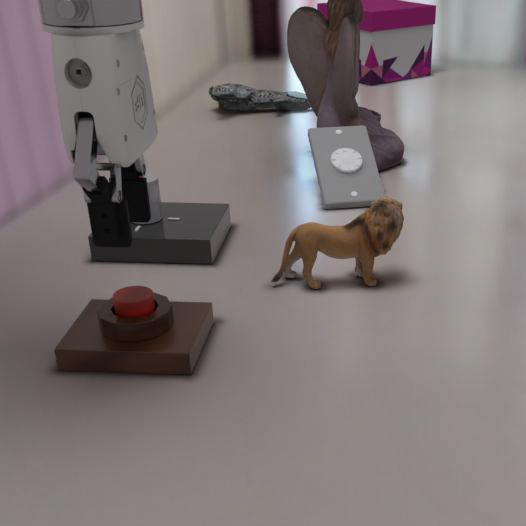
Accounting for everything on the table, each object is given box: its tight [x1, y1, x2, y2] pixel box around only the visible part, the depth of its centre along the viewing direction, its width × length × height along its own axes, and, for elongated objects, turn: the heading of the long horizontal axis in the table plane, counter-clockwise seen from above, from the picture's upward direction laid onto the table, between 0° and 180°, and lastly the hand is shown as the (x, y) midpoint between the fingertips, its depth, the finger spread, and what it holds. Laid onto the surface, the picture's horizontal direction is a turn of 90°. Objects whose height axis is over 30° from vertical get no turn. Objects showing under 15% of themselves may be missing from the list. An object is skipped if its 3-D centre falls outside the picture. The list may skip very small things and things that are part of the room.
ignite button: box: [111, 285, 155, 318], centre depth 73 cm, size 4×4×2 cm
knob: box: [131, 172, 163, 224], centre depth 94 cm, size 4×4×5 cm
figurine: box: [286, 0, 405, 172], centre depth 121 cm, size 18×15×25 cm
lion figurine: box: [270, 196, 405, 290], centre depth 86 cm, size 15×5×9 cm, turn 104°
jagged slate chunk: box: [208, 82, 311, 113], centre depth 154 cm, size 16×20×5 cm
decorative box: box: [316, 0, 437, 86], centre depth 183 cm, size 19×19×15 cm
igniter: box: [53, 291, 215, 376], centre depth 74 cm, size 12×10×4 cm
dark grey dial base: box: [87, 201, 232, 265], centre depth 96 cm, size 14×12×3 cm
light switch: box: [307, 125, 386, 210], centre depth 113 cm, size 8×6×14 cm
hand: (123, 230), depth 69 cm, fingers open, 5 cm apart
